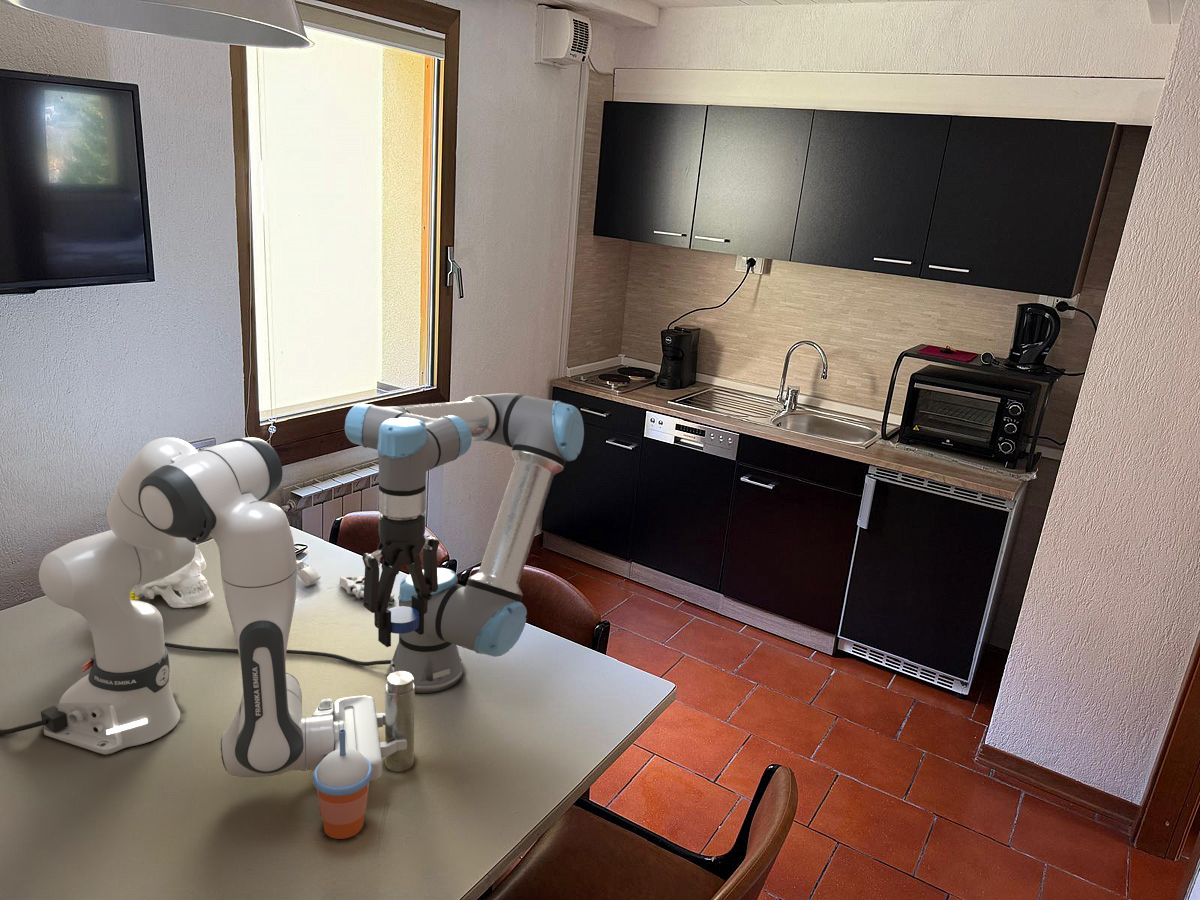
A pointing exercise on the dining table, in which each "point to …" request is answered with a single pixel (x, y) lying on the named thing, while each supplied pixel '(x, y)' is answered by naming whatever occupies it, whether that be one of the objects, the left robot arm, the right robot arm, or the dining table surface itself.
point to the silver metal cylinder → (400, 718)
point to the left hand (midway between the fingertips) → (404, 731)
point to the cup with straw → (343, 790)
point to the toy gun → (357, 586)
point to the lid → (404, 619)
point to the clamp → (307, 573)
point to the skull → (182, 585)
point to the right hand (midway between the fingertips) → (401, 636)
